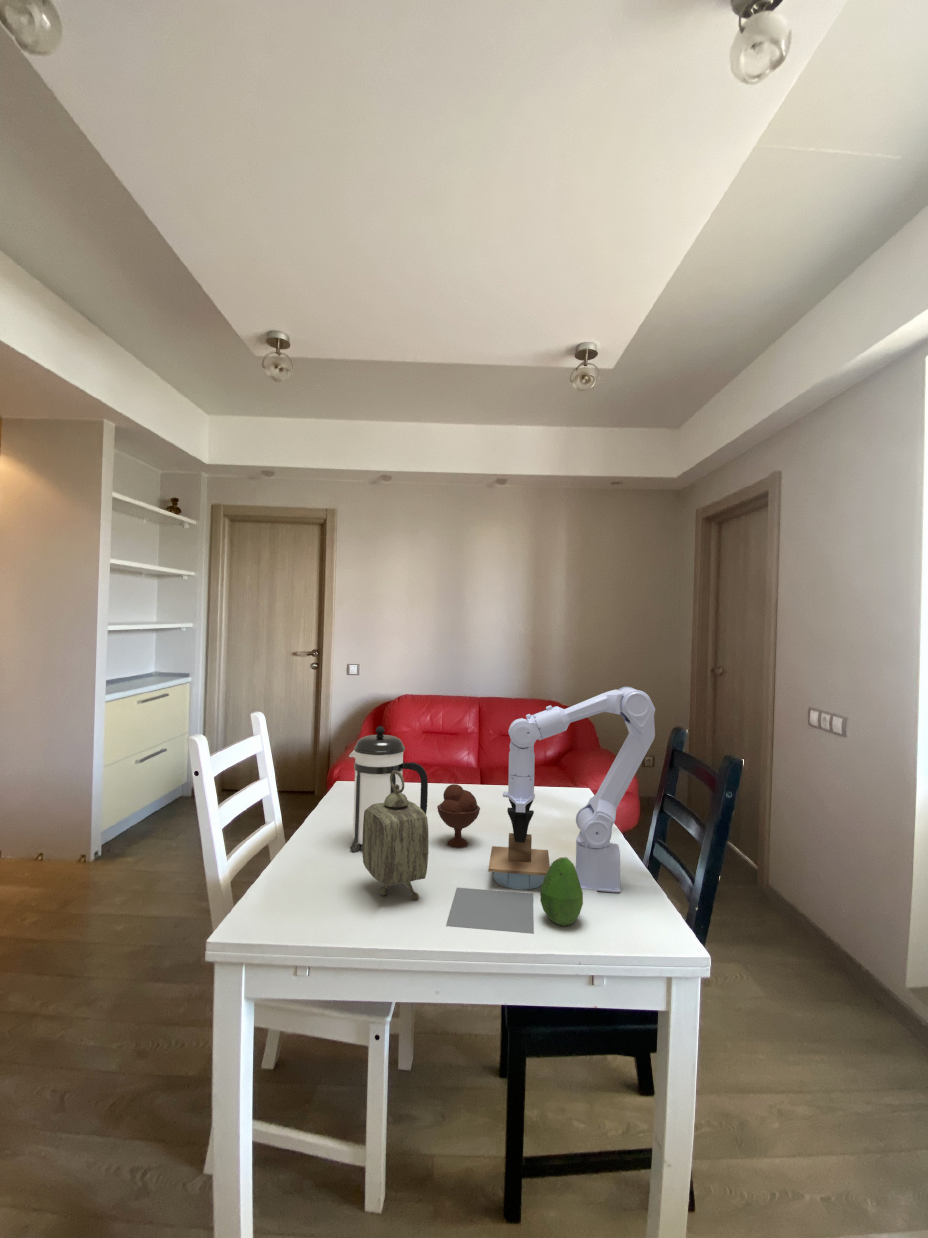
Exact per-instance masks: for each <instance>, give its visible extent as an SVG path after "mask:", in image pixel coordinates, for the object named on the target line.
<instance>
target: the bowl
mask: <svg viewBox="0 0 928 1238" xmlns="http://www.w3.org/2000/svg"><path fill="white" fill-rule="evenodd" d="M544 878H545V876H542V875H528V874H514V873H501V872H493V880H494V881H495V882H496V883H497V884H499V885H500V886H503V887H505V888H508V889H513V890H521V891H523V890H533V889H536V888H539V887H541V886H542V883H543V881H544Z"/></svg>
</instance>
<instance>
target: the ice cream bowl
mask: <svg viewBox="0 0 928 1238" xmlns="http://www.w3.org/2000/svg"><path fill="white" fill-rule="evenodd" d="M442 797H443V801H442V802H441V803H440V804H438V805H437V808H436V809H437V812H438V815H439V817H440V819H441V820H442V821H443V822H444V824H445V825H446V826H448V827H450V828H452V829H453V830H454V836H453V837H451V838H450V839H449V840H447V843H446V844H447V846H448V847H450V846H451V848H454V849H455V848H456V849H461V848H465V847H466V848H467V846H468V845H469V842H468V841H467V839H465V837H462V830H463V829H465V828H468V827H469V826H470V825H471V824H473V822H475V820H477V819H478V817H479V815H480V810H481V807H480V806H479V805H478V802H477V799H476V796H474V795H473V793H472V792H471V791H469V790H465V789H464V788H463V787H462V786H461V785H459V784H458V783H457V784H453V783H452V784H450V785H447V786H446V788H445V789H444V791H443V796H442Z"/></svg>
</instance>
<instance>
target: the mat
mask: <svg viewBox="0 0 928 1238" xmlns="http://www.w3.org/2000/svg"><path fill="white" fill-rule="evenodd" d="M534 921H535V919H534V893H533V892H532V893H530V892H519V891H517V892H516V891H507V890H506V891H505V890H494V889H493V890H491V889H481V888H479V889H478V888H468V887H456V889H455V892H454V896H453V900H452V903H451V907H450V909H449V913H448V917H447V921H446V925H445V927H450V928H451V927H452V928H465V929H472V930H473V929H474V930H475V929H476V930H487V931H499V932H510V933H522V934H530V935H531V934H532V935H533V934H535V931H534V929H535V927H534V925H535V924H534V923H535V922H534Z"/></svg>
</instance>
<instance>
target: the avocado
mask: <svg viewBox="0 0 928 1238" xmlns="http://www.w3.org/2000/svg"><path fill="white" fill-rule="evenodd" d="M539 893H540V895H539V896H540V900H539V901H540V903H541V906H542V910H543V912H544V913H545V914H546V916H547V917H548V918H549V919H550V920H551V921H552V922H553V923H555V924H556V925H561V926H564V927H565V926H569V925H572V924H573V923H575V922H576V921H577V920H578V918H579V916H580V913H581V910H582V909H583V905H584V898H583V897H584V894H583V889H581V885H580V882H579V879H578V875H577V872H576V865H574V863H573V862H572V861H571V860H570V859H569V858H568V857H558V858H557V859H555V860H553V862H552V863H551V864H550V867H549V869H548V871H547V873H546V875H545V877H544V881H543V883H542V885H541V886H540V892H539Z"/></svg>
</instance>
